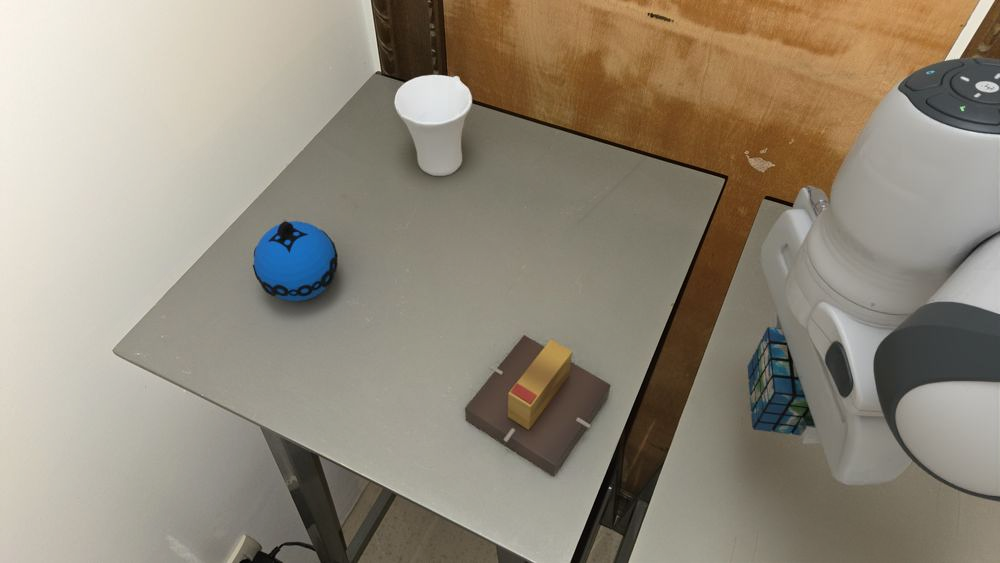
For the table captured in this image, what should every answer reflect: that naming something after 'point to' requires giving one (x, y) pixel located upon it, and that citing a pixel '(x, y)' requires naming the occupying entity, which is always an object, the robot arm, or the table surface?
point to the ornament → (295, 261)
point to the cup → (435, 120)
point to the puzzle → (775, 386)
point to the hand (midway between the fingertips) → (794, 390)
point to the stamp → (539, 384)
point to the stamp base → (556, 422)
